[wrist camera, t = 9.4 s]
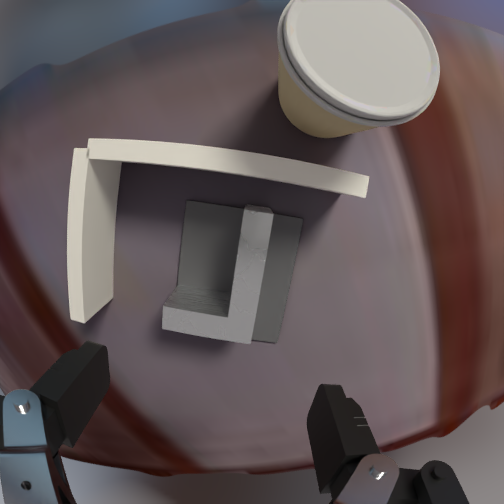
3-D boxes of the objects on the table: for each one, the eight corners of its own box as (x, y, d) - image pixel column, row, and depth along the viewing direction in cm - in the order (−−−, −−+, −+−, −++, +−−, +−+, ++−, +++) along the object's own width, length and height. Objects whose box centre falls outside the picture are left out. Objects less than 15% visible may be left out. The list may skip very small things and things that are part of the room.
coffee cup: (383, 137, 23) (464, 115, 12) (285, 158, 24) (312, 138, 12) (352, 47, 21) (405, -20, 10) (255, 62, 22) (255, -16, 10)
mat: (175, 324, 28) (174, 326, 27) (187, 200, 25) (186, 200, 25) (276, 341, 28) (277, 342, 28) (302, 218, 25) (303, 219, 25)
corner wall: (100, 294, 27) (70, 319, 21) (110, 145, 24) (76, 138, 18) (310, 331, 28) (322, 366, 22) (344, 177, 24) (369, 176, 18)
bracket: (251, 316, 27) (250, 344, 22) (177, 304, 27) (162, 328, 22) (270, 207, 25) (273, 214, 20) (188, 195, 25) (172, 199, 20)
